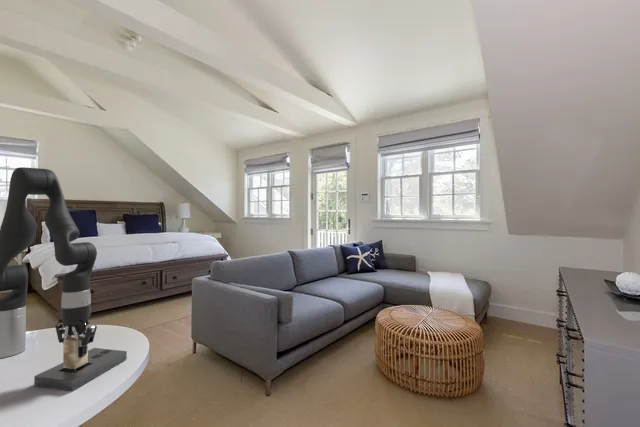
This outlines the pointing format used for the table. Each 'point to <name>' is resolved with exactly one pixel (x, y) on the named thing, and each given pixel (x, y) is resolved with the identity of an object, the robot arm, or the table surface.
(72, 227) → the robot arm
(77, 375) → the metal socket plate
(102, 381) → the table surface
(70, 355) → the maple block
